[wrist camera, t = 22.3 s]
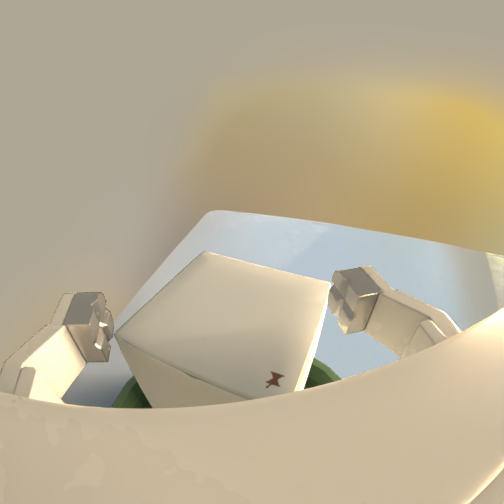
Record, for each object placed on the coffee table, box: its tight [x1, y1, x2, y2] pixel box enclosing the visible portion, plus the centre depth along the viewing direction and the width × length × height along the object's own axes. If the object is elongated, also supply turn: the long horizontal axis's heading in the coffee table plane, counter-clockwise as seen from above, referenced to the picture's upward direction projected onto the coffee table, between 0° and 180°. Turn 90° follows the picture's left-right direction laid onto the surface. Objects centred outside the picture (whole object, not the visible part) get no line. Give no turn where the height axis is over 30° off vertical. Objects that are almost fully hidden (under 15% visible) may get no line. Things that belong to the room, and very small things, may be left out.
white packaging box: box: [114, 251, 331, 408], centre depth 14 cm, size 7×7×13 cm
